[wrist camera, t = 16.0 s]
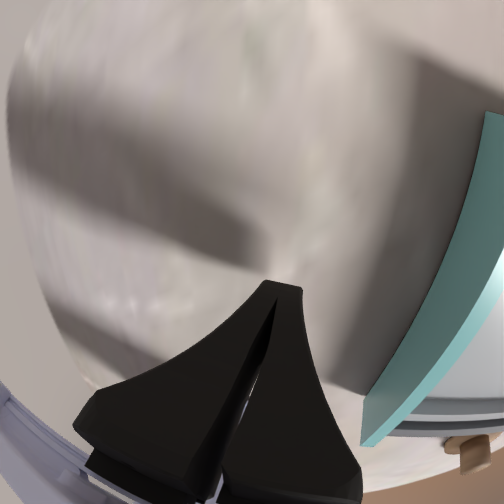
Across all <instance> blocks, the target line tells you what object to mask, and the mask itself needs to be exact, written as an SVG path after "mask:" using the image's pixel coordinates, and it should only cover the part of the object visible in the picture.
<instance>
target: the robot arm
mask: <svg viewBox="0 0 504 504" xmlns="http://www.w3.org/2000/svg"><path fill="white" fill-rule="evenodd" d="M302 296H303V290H302V288H301V287H298V286H294V285H289V284H284V283H280V282H275V281H270V280H264V281H263V282H262V283H261V284H260V286H259V287H258V288H257V289H256V290H255V292H254V293H253V294H252V295H251V296H250V297H249V298H248V299H247V300H246V301H245V302H244V303H243V304H242V305H241V306H240V307H239V308H238V309H237V310H236V311H235V312H234V313H233V314H232V315H231V316H230V317H229V318H228V319H227V320H225V321H224V322H223V323H222V324H221V325H220V326H218V327H217V328H216V329H215V330H214V331H212V332H211V333H210V334H208V335H207V336H206V337H205V338H203V339H202V340H200V341H199V342H198V343H196V344H195V345H193V346H192V347H190V348H189V349H187V350H185V351H184V352H182V353H181V354H179V355H177V356H176V357H174V358H172V359H170V360H169V361H167V362H165V363H163V364H161V365H159V366H157V367H155V368H153V369H151V370H149V371H147V372H144V373H142V374H140V375H138V376H136V377H133V378H131V379H128V380H126V381H123V382H120V383H117V384H114V385H111V386H109V387H106V388H103V389H99V390H97V391H96V392H95V393H94V395H93V396H92V397H91V398H90V399H89V400H88V402H87V403H86V404H85V406H84V407H83V409H82V410H81V412H80V413H79V415H78V416H77V418H76V419H75V421H74V423H73V428H74V430H75V431H76V432H77V433H78V434H79V435H80V436H81V437H82V438H83V439H85V440H86V441H87V442H88V443H89V444H90V445H92V446H93V447H94V450H93V452H92V453H91V455H88V454H87V453H85V452H84V451H82V450H80V449H79V448H77V447H76V446H75V445H73V444H72V443H70V442H69V441H68V440H66V439H65V438H63V437H62V436H60V435H59V434H58V433H57V432H55V431H54V430H53V429H51V428H50V427H49V426H48V425H46V424H45V423H44V422H43V421H41V420H40V419H39V418H38V417H37V416H35V415H34V414H33V413H32V412H31V411H30V410H28V409H27V408H26V407H25V406H24V405H23V404H22V403H21V402H20V401H18V400H17V399H16V398H15V397H14V396H13V395H12V394H11V392H10V391H9V390H8V389H7V388H6V386H5V385H4V384H3V383H2V382H1V381H0V473H1V475H2V476H3V478H4V479H5V480H6V481H7V483H8V484H9V486H10V487H11V488H12V489H13V491H14V492H15V493H16V494H17V496H18V497H19V498H20V499H21V500H22V502H23V503H24V504H128V503H127V502H125V501H123V500H121V499H120V498H118V497H116V496H114V495H113V494H111V493H109V492H108V491H106V490H104V489H102V488H100V487H98V486H97V485H95V484H93V483H91V482H90V481H89V480H88V475H87V474H89V475H90V476H92V477H94V478H95V479H97V480H99V481H100V482H102V483H103V484H105V485H107V486H108V487H110V488H112V489H114V490H116V491H117V492H119V493H121V494H123V495H125V496H127V497H128V498H130V499H132V500H134V501H135V502H133V503H132V504H361V501H362V497H363V479H362V471H361V467H360V465H359V464H358V462H357V460H356V459H355V457H354V455H353V454H352V452H351V450H350V448H349V447H348V445H347V443H346V441H345V439H344V437H343V435H342V433H341V431H340V429H339V427H338V425H337V423H336V421H335V419H334V416H333V414H332V412H331V410H330V407H329V405H328V403H327V400H326V398H325V395H324V393H323V390H322V387H321V385H320V382H319V379H318V376H317V373H316V370H315V366H314V363H313V359H312V355H311V351H310V347H309V343H308V339H307V333H306V328H305V322H304V315H303V303H302ZM258 374H259V375H258ZM257 376H258V377H257ZM256 379H257V380H256ZM255 381H256V383H255ZM254 383H255V385H254ZM253 386H254V388H253ZM252 388H253V391H252V393H251V390H252ZM250 393H251V396H250V398H249V401H248V397H249V395H250Z"/></svg>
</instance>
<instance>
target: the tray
mask: <svg viewBox="0 0 504 504" xmlns="http://www.w3.org/2000/svg"><path fill="white" fill-rule="evenodd" d="M500 418H504V115H500V114H496V113H492V112H488V111H486V112H485V119H484V125H483V130H482V136H481V141H480V146H479V150H478V155H477V159H476V163H475V167H474V171H473V175H472V179H471V182H470V186H469V189H468V193H467V196H466V199H465V202H464V205H463V209H462V212H461V215H460V217H459V220H458V223H457V226H456V229H455V231H454V234H453V237H452V239H451V242H450V245H449V247H448V250H447V252H446V254H445V257H444V259H443V262H442V264H441V266H440V268H439V271H438V273H437V275H436V277H435V280H434V282H433V284H432V286H431V288H430V290H429V292H428V294H427V296H426V298H425V300H424V302H423V304H422V306H421V308H420V310H419V312H418V314H417V316H416V318H415V319H414V321H413V323H412V325H411V327H410V329H409V330H408V332H407V334H406V336H405V337H404V339H403V341H402V342H401V344H400V346H399V347H398V349H397V351H396V352H395V354H394V356H393V357H392V359H391V360H390V362H389V363H388V365H387V367H386V368H385V370H384V371H383V373H382V374H381V376H380V377H379V379H378V380H377V382H376V383H375V384H374V386H373V387H372V389H371V390H370V392H369V393H368V394H367V396H366V397H365V398H364V402H363V417H362V429H361V440H360V446H364V447H374V446H375V445H376V444H377V443H378V442H380V441H381V440H382V439H383V438H384V437H385V436H386V435H388V434H389V433H390V432H391V431H392V430H393V429H394V428H395V427H396V426H397V425H399V424H400V423H401V422H402V421H403V420H404V421H475V420H489V419H500Z"/></svg>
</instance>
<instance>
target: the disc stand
mask: <svg viewBox="0 0 504 504" xmlns="http://www.w3.org/2000/svg"><path fill="white" fill-rule="evenodd" d="M501 433H502V432H495V433H487V434H478V435H467V436H452V437H451V438H450V439H448V440H447V441H446V442H445V444H444V451H445V453H447V454H460V473H461V475H466V474H471V473H474V472H477V471H480V470H482V469H484V468H486V467H488V466H489V465H490V464H491V452H490V442H492V441H493V440H495V439H496V438H497V437H498V436H499V435H500V434H501Z"/></svg>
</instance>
